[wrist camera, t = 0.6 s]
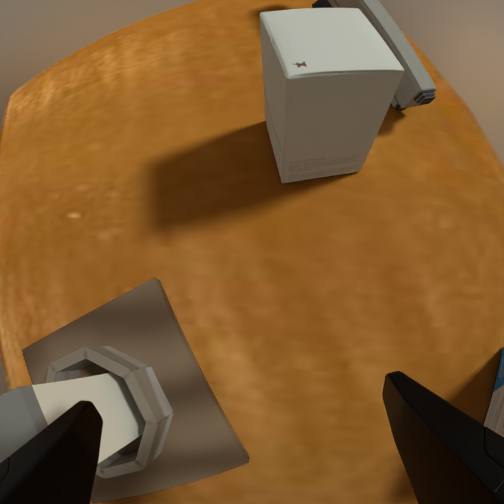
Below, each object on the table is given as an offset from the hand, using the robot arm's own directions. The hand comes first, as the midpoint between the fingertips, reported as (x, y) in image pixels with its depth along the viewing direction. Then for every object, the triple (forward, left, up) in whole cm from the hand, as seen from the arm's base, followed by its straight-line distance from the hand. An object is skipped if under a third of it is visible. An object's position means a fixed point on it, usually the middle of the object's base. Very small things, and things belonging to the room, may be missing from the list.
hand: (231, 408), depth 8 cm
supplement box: (+14, -13, -15) cm, 25 cm away
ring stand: (+1, +12, -15) cm, 20 cm away
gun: (+24, -26, -16) cm, 39 cm away
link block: (+1, +12, -14) cm, 19 cm away
